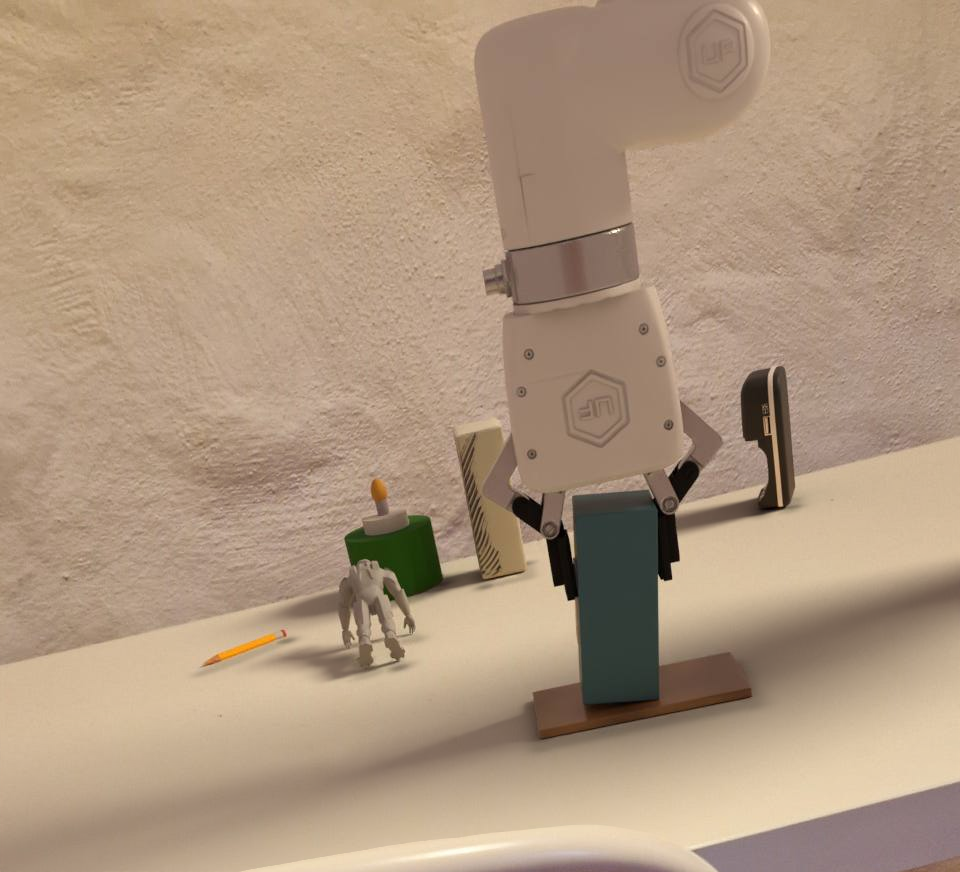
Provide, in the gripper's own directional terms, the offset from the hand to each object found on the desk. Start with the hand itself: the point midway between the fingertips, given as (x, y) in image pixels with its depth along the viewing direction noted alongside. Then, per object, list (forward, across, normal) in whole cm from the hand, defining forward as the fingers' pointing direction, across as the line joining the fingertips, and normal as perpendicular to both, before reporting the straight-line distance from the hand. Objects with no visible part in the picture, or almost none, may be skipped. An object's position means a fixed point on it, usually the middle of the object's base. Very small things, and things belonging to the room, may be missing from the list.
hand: (617, 582), depth 90 cm
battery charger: (+8, +18, +46) cm, 50 cm away
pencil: (+8, -32, +33) cm, 47 cm away
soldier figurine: (+8, -19, +25) cm, 32 cm away
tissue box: (+1, +2, 0) cm, 3 cm away
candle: (+8, -18, +44) cm, 48 cm away
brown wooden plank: (+8, 0, 0) cm, 8 cm away
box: (+8, -8, +42) cm, 43 cm away
